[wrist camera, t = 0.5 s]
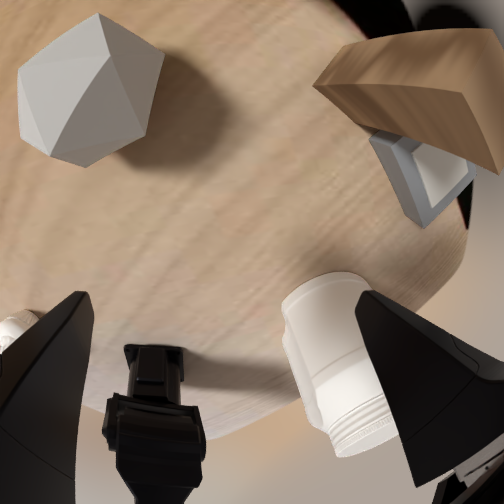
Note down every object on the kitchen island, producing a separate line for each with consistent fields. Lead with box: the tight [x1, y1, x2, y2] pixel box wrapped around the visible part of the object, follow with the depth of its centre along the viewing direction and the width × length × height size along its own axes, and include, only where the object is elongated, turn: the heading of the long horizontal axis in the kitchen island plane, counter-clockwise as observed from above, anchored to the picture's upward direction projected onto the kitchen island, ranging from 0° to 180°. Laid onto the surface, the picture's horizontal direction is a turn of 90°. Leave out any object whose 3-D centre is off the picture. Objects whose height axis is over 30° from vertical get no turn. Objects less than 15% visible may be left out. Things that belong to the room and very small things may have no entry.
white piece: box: [0, 310, 39, 354], centre depth 19 cm, size 6×6×7 cm
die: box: [18, 13, 165, 168], centre depth 11 cm, size 8×9×10 cm
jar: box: [282, 272, 399, 457], centre depth 22 cm, size 12×10×15 cm
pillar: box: [312, 28, 504, 175], centre depth 11 cm, size 4×4×13 cm
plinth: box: [369, 130, 477, 229], centre depth 19 cm, size 9×9×3 cm
